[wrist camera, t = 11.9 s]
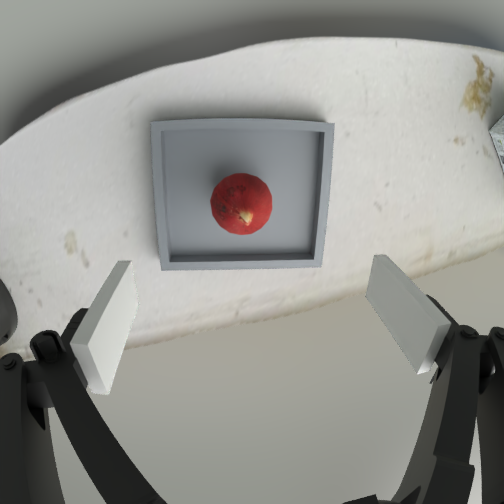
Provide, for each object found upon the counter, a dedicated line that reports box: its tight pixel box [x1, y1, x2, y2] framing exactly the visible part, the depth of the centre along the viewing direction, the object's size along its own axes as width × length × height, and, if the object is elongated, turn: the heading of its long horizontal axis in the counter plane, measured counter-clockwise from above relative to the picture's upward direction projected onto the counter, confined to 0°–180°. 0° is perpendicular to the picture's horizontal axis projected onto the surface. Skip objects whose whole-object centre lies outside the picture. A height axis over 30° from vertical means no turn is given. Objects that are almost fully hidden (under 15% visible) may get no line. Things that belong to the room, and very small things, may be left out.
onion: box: [210, 173, 272, 235], centre depth 29 cm, size 6×6×8 cm
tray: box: [151, 118, 335, 271], centre depth 32 cm, size 18×16×2 cm
